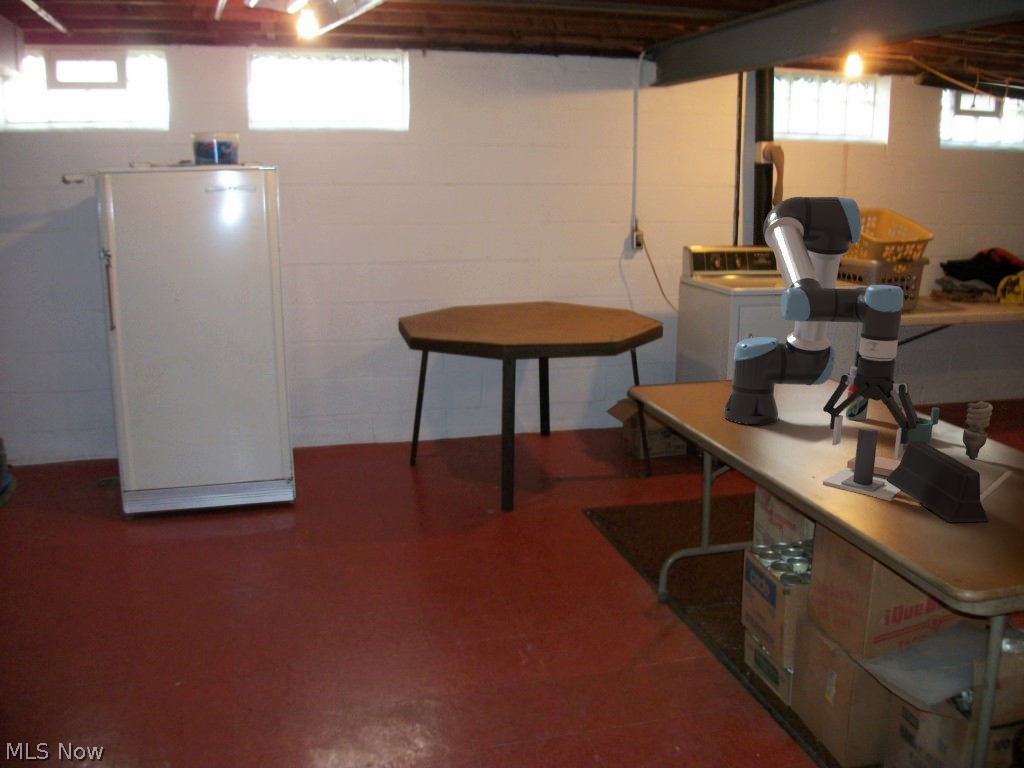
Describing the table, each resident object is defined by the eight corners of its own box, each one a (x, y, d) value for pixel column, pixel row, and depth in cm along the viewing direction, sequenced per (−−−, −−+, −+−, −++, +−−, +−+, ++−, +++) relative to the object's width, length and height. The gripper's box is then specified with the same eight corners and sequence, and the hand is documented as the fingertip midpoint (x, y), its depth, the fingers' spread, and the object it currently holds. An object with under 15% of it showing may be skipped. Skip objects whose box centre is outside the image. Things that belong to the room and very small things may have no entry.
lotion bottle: (845, 419, 250) (852, 351, 245) (845, 415, 255) (852, 348, 250) (866, 422, 248) (873, 353, 243) (866, 417, 253) (873, 350, 248)
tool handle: (850, 482, 193) (855, 430, 191) (857, 477, 196) (862, 426, 194) (868, 486, 191) (874, 434, 188) (875, 481, 194) (880, 430, 191)
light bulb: (988, 460, 215) (996, 401, 211) (980, 464, 211) (989, 405, 207) (964, 454, 219) (972, 397, 215) (956, 459, 215) (964, 401, 211)
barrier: (885, 479, 196) (892, 438, 194) (920, 479, 198) (928, 437, 195) (949, 522, 174) (958, 476, 171) (989, 522, 175) (998, 475, 172)
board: (822, 484, 196) (823, 478, 196) (866, 458, 215) (866, 453, 214) (890, 500, 186) (891, 494, 186) (929, 472, 205) (930, 466, 204)
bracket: (938, 440, 231) (942, 408, 229) (916, 445, 226) (920, 412, 224) (908, 432, 238) (912, 401, 236) (886, 436, 234) (890, 404, 232)
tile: (861, 460, 211) (846, 468, 203) (862, 453, 210) (847, 461, 203) (913, 470, 203) (900, 479, 196) (914, 463, 203) (900, 471, 195)
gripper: (814, 351, 192) (805, 442, 198) (932, 369, 176) (919, 467, 181) (827, 346, 198) (818, 435, 203) (943, 363, 182) (930, 459, 187)
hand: (866, 450), depth 192 cm, fingers open, 13 cm apart
